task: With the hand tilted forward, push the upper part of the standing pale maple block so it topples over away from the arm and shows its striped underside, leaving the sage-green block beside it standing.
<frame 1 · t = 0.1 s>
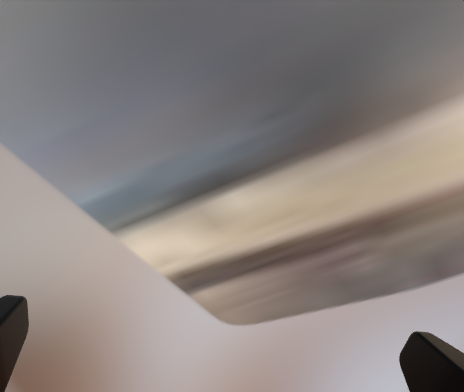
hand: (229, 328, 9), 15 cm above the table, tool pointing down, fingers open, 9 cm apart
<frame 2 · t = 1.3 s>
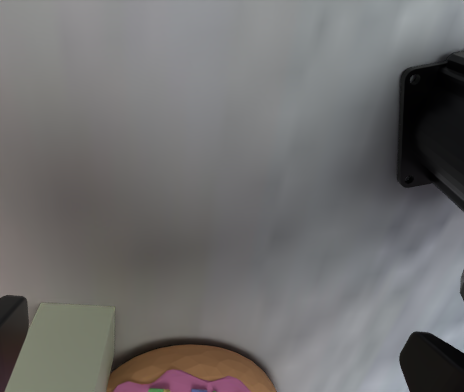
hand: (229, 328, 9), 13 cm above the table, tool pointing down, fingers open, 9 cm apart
sage block: (79, 329, 27), on the table
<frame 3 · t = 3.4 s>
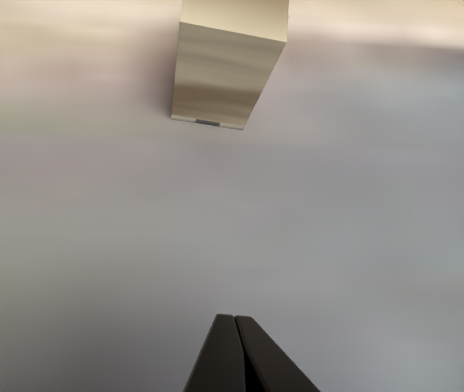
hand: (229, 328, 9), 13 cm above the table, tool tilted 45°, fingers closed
maple block: (210, 92, 26), on the table
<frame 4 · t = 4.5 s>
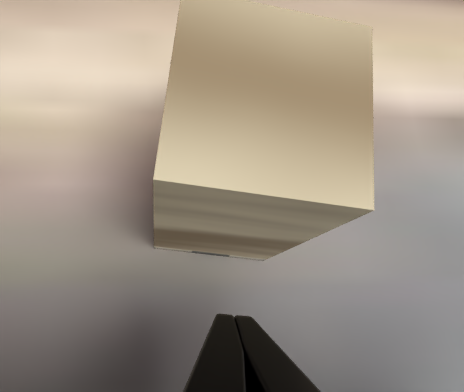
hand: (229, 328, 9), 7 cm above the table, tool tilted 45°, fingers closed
maple block: (215, 201, 17), on the table
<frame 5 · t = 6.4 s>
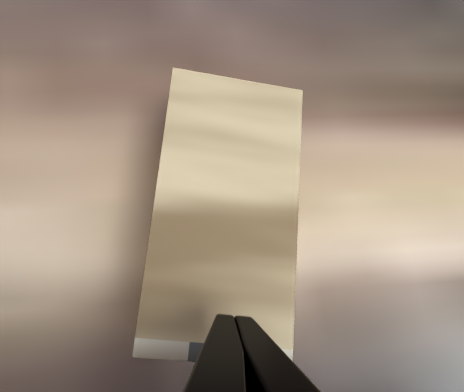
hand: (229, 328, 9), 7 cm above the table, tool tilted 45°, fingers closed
maple block: (204, 354, 13), point 2 cm above the table, tilted 90°
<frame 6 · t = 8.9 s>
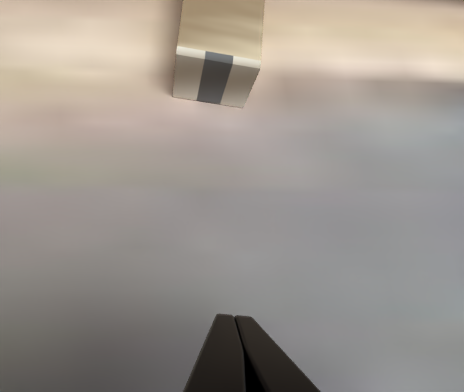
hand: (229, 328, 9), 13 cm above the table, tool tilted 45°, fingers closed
maple block: (213, 83, 24), point 2 cm above the table, tilted 90°
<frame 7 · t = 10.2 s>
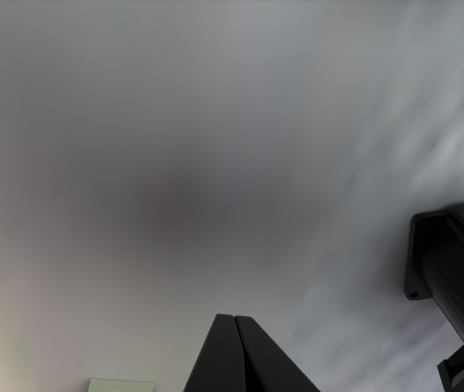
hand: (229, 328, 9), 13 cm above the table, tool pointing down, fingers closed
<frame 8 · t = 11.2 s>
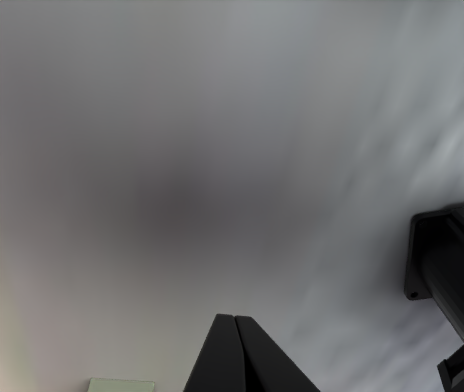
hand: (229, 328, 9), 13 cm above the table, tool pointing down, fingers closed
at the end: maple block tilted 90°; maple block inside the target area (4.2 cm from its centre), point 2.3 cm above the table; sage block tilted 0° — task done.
